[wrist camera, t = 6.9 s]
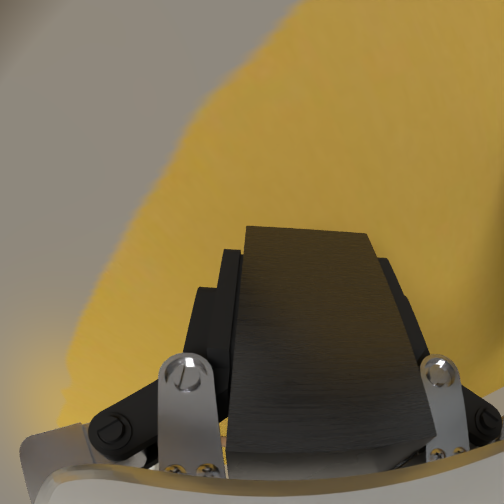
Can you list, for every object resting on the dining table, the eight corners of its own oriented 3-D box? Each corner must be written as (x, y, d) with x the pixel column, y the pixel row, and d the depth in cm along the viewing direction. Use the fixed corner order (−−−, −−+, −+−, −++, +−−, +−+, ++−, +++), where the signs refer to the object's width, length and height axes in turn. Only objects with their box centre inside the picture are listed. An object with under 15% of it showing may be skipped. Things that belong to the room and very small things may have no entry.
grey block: (199, 223, 10) (139, 438, 4) (404, 236, 10) (489, 421, 4) (215, 399, 17) (203, 509, 12) (331, 402, 17) (340, 509, 12)
